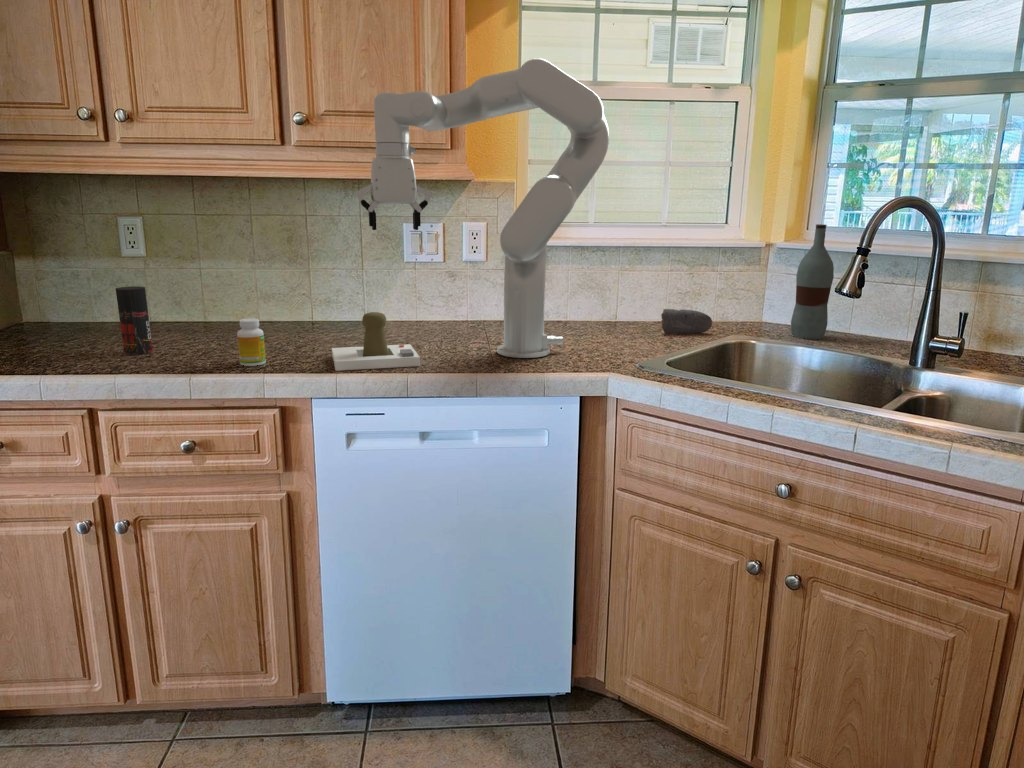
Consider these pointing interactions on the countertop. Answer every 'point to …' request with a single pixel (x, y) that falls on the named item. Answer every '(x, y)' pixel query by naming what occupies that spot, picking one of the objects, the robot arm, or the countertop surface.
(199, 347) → the countertop surface
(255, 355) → the supplement bottle
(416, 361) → the white flat base
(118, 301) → the deodorant
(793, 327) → the vodka
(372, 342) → the cork
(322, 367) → the countertop surface
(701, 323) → the perforated stone tool
